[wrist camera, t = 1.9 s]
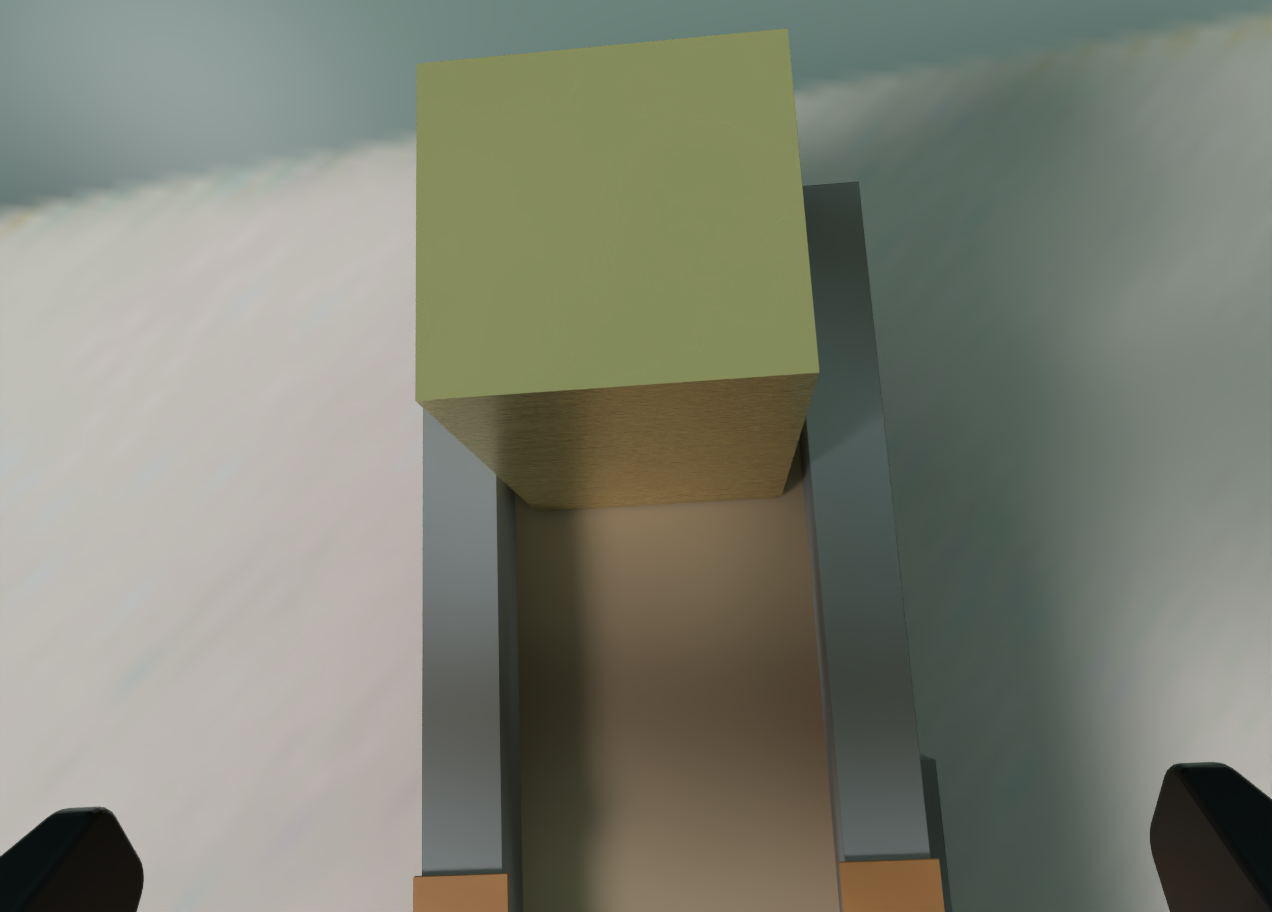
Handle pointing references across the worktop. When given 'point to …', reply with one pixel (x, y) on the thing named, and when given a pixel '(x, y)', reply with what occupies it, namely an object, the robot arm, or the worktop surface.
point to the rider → (616, 269)
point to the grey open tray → (683, 673)
